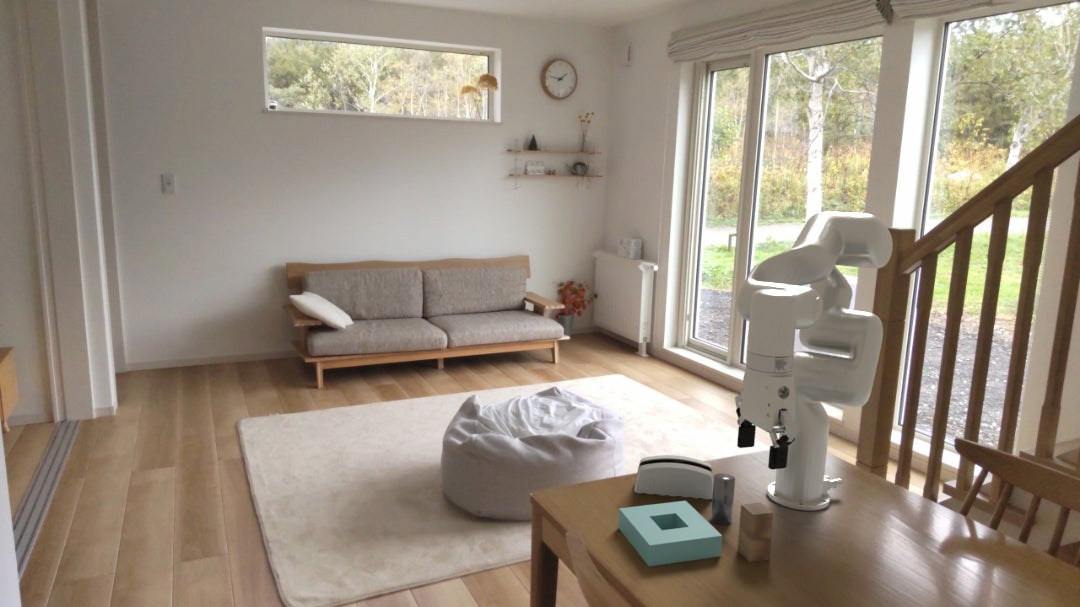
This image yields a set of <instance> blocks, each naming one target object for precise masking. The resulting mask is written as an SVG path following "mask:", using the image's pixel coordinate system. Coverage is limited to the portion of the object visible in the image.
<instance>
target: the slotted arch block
mask: <svg viewBox="0 0 1080 607" xmlns="http://www.w3.org/2000/svg"><path fill="white" fill-rule="evenodd" d="M713 483H714V475H713V467H712V465H711V464H710V463H709V462H706V461H704V460H701V459H697V458H695V457H694V458H693V457H689V456H684V455H683V456H682V455H672V454H670V455H669V454H664V455H662V454H661V455H653V456H652V455H651V456H647V457H646V456H645V457H642V458H641V459H640V461H639V464H638V467H637V472H636V476H635V480H634V488H633V490H634V493H635V492H636V493H635V494H642V493H647V494H646V495H653V494H660V495H659V496H665V495H669V497H676V496H683V497H682V498H687V497H695V498H694V499H698V498H703V499H702V500H709V499H712V497H713Z"/></svg>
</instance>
